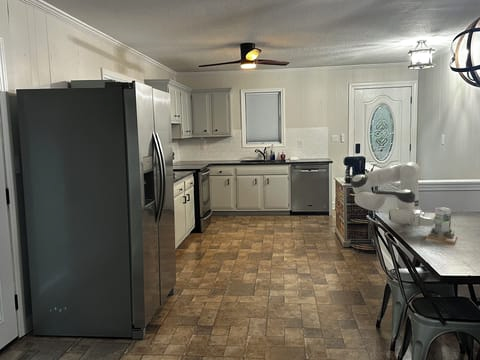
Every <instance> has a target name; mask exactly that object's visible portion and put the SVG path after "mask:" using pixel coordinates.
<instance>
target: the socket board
mask: <svg viewBox="0 0 480 360" xmlns="http://www.w3.org/2000/svg"><path fill="white" fill-rule="evenodd" d="M457 239H458V234H456V233H455V229H451V228H450V233H444V231H438V232H435V227H432V229H431V230H430V231H429V233H428V234H427V236H426V237H425V242H429V243H437V244H444V245H445V244H446V245H455V243H456V241H457Z"/></svg>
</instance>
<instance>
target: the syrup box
mask: <svg viewBox="0 0 480 360" xmlns="http://www.w3.org/2000/svg"><path fill="white" fill-rule="evenodd" d="M434 213H435V219H437V220H440V219H441V220H444V223H434V228H435V232H438V231H444V233H450V229H451V222H452V221H451V220H452V219H451V218H452V208H449V207H435V212H434Z"/></svg>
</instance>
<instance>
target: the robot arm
mask: <svg viewBox="0 0 480 360" xmlns="http://www.w3.org/2000/svg"><path fill="white" fill-rule="evenodd" d="M420 169H421V167H420V166H419V164H418V163H416V162H415V161H408V162H403V163H399V164H396V165H391V166H388V167H382V168H380V169H375V170H373V171H369V172H367V173H365V174H362V173H361V174H360V173H359V174H355V175H353V176H352V178H350V185H351V187H352V191H353V193H354V194H355V196H354V203H355V204H356V205H357V206H359V207H360V208H363V209H365V210H368V211H372V212H373V211H374V212H375V211H379V210H380V209H382V207H383V206H384V204H385V202H386V199H387V198H395V199H396V201H397V203H396V205H397V206H396V208H390V209H389V210H388V219H389V221H390V222H391V223H395V224H399V225H408V224H409V225H410V226H415V227H419V226H422V227H423V226H425V227H427V226H428V227H429V226H430V227H431V226H435V223H444V220H441V219H440V220H437V219H435V212H423V211H422V209H421V208H420V206H419V204H420V201H419V188H420V187H419V174H420V172H421V170H420ZM398 182H400V183H399V184H400V189H379V190H376V191H375V192H373V190H372V188H373V187H378V186H379V187H380V186H385V185H391V184H395V183H398Z"/></svg>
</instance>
